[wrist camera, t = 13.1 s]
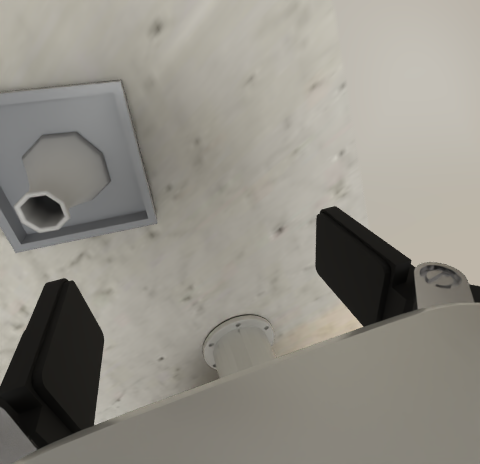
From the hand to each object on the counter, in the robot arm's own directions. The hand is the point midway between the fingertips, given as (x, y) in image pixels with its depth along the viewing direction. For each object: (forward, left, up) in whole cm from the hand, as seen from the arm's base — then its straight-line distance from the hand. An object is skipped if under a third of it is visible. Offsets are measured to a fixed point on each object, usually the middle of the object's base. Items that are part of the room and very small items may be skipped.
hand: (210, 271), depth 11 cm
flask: (-1, +10, -23) cm, 25 cm away
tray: (-1, +10, -23) cm, 25 cm away
